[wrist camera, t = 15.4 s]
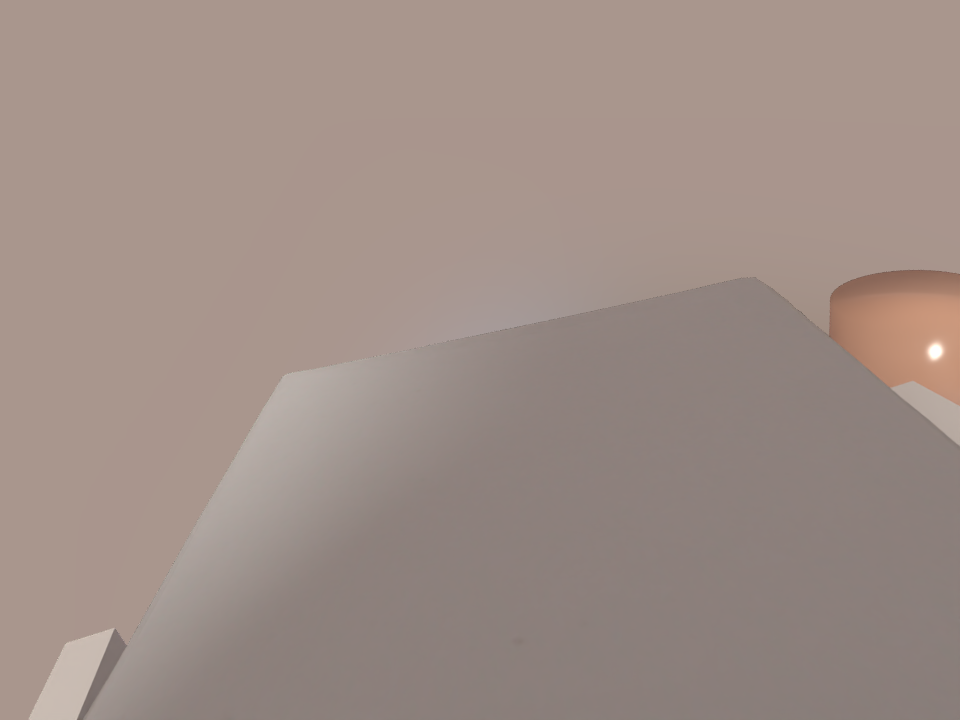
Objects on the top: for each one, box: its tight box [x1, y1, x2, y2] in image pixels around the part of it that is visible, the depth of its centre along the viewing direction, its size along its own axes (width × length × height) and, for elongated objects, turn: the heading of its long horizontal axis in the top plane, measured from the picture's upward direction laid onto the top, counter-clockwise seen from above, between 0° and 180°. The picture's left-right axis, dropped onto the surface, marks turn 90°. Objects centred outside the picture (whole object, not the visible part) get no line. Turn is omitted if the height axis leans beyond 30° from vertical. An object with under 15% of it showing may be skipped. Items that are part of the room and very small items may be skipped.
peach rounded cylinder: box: [829, 270, 960, 406], centre depth 24 cm, size 5×5×6 cm
